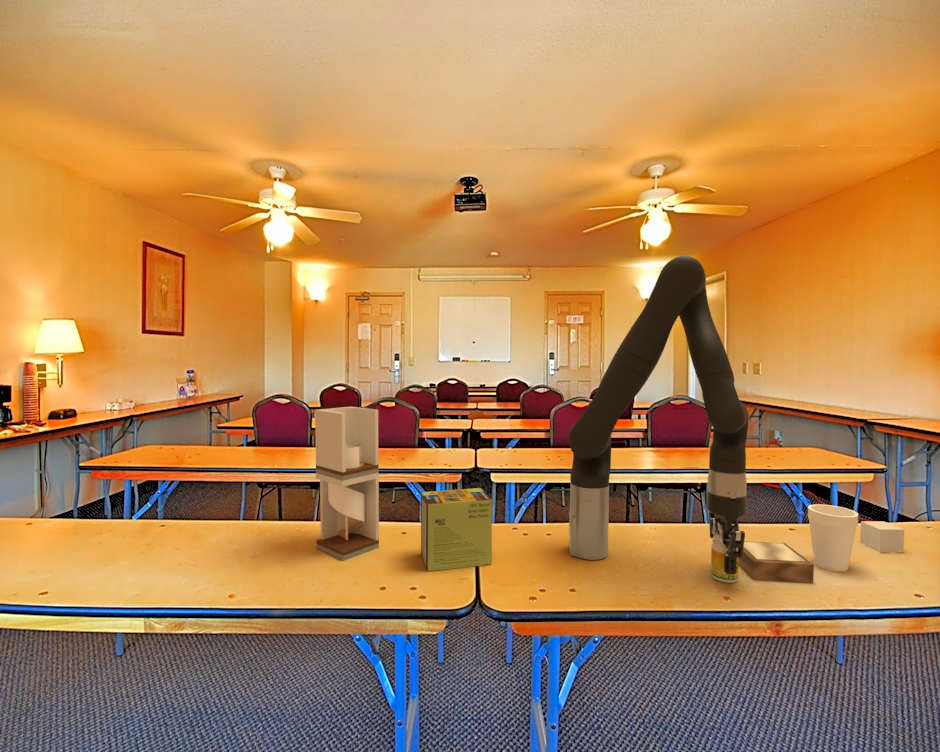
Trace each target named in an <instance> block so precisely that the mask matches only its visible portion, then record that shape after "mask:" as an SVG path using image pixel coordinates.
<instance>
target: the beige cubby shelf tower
mask: <svg viewBox="0 0 940 752" xmlns="http://www.w3.org/2000/svg"><path fill="white" fill-rule="evenodd" d="M314 413H315V414H314V416H315V417H314V420H315V425H314V427H315V431H314V432H315V433H314V434H315V479H316V480H319V494H320V497H319V502H320V503H319V504H320V505H319V506H320V508H319V509H320V516H319V517H320V538H319V539H317V540H316V549H318V550H320V551H322V552H324V553H326V554H328V555H330V556H332V557H335V558H336V559H339V560H341V561H343V562H344V561H347V560H349V559H352V558H354V557H357V556H360V555H363V554H365V553H368V552H371V551H373V550H376V549H380V515H379V514H380V508H379V506H380V505H379V503H380V501H379V500H380V499H379V498H380V493H379V490H380V489H379V486H380V485H379V483H380V482H379V477H380V476H379V474H380V472H379V409H373V408H367V407H357V406H343V407H342V406H341V407H334V408H333V407H331V408H320V409H315V410H314Z"/></svg>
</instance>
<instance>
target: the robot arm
mask: <svg viewBox="0 0 940 752" xmlns="http://www.w3.org/2000/svg"><path fill="white" fill-rule="evenodd" d="M658 275H659V276H658V277H657V280H656V282H655V284H654V287H653V289H652V291H651V293H650V295H649V297H648V298H647V299H648V300H647V302H646V304H645V306H644V307H643V309H642V311H641V312H640V314H639V316H638V317H637V318H636V320H635V321H634V323H633V324H632V325H631V327H630V329H629V330H628V332H627V334H626V335H625V337H624V339H623V340H622V342H621V343H620V344H619V347H617V350H616V352H615V354H614V355H613V357H612V359H611V360H610V363H609V365H608V367H607V369H606V371H605V372H604V375H603V377H602V378H601V381H600V383H599V385H598V388H597V389H596V392H595V394H594V396H593V398H592V400H590V403H589V404H588V406H587V407H586V409H584V412H583V413H582V414H581V416H580V417H579V419H578V420H577V421H576V422H575V423H574V425H573V426H572V427H571V428H570V431H569V433H568V445H569V448H570V450H571V452H572V453H573V455H572V456H573V458H572V459H573V460H572V464H571V465H572V467H571V470H570V475H569V476H570V482H569V483H570V486H569V487H570V488H569V489H570V491H569V493H570V494H569V495H570V497H569V498H570V499H569V501H570V502H569V506H570V507H569V511H568V512H569V513H568V515H569V516H568V517H569V518H568V519H569V520H568V521H569V522H568V548H569V549H568V550H569V555H570V557H576V558H580V559H582V558H583V560H590V561H591V560H592V561H595V560H596V561H597V560H598V561H599V560H603V559H605V558H607V557H608V555H609V523H610V522H609V514H610V513H609V510H610V509H609V507H610V505H609V504H610V503H609V502H610V477H611V468H612V467H611V465H612V464H611V463H612V434H613V431H614V429H615V427H616V424H617V423H618V421H619V419H620V417H621V415H623V412H624V411H625V410H626V409H627V407H628V406H629V405H630V403H632V401H633V400H634V399H635V397H636V396H637V395H638V394H639V392H640V391H641V390H642V388H643V387H644V386H645V384H646V383H647V381H648V379H649V378H650V376H651V375H652V373H653V372H654V370H655V368H656V366H657V365H658V363H659V361H660V359H661V356H662V355H663V352H664V350H665V348H666V346H667V342H668V340H669V337H670V334H671V331H672V329H673V326H674V324H675V323H676V321H677V319H678V318H679V319H680V322H681V324H682V327H683V331H684V334H685V338H686V342H687V347H688V351H689V356H690V359H691V363H692V366H693V369H694V372H695V374H696V378H697V381H698V384H699V386H700V388H701V394H702V400H703V404H704V408H705V409H704V410H705V413H706V416H707V419H708V422H709V423H710V426H711V427H712V428H713V429H712V430H713V431H712V443H711V445H710V447H709V448H710V449H709V461H708V465H709V466H708V467H709V468H708V475H707V490H706V491H707V492H706V496H707V497H706V508H707V510H708V520H709V521H708V523H709V537H710V539H712V543H713V542H715V541H716V540H715V533H717V532H718V533H719V534H720V540H721V544H722V545H723V546H724V554H725V555H724V571H725V573H727V574H736V564H737V557H739V558H742V555H743V547H744V541H745V537H746V536H745V535H746V533H745V531H743V530H740V526H739V523H738V519H739V518H740V517H743V516H745V515H746V514H747V487H748V486H747V476H746V475H747V474H746V473H747V472H746V467H747V466H746V465H747V462H746V460H747V455H746V453H747V452H746V444H747V438H748V430H749V410H748V408H747V406H746V405H745V404H744V402H742V401H741V400H740V398H739V395H738V393H737V390H736V387H735V376H734V372H733V370H732V369H733V368H732V365H731V363H730V360H729V358H728V357H729V356H728V353H727V351H726V348H725V346H724V343H723V341H722V339H721V336H720V334H719V332H718V330H717V327H716V325H715V323H714V320H713V319H714V318H713V317H712V314H711V310H710V307H709V302H708V295H707V293H708V292H707V286H706V282H707V276H706V272H705V269H704V266H703V265H702V263H701V262H700V261H699V260H698V259H697V258H695V257H693V256H691V255H679V256H677V257H674V258H672V259H670V260H669V261H668V262H666V263H665V265H664V266H663V267H662V269H661V270H660V272H659V274H658ZM725 539H729V541H726V540H725ZM728 545H729V547H728ZM733 548H734V551H733Z"/></svg>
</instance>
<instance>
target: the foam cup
mask: <svg viewBox="0 0 940 752" xmlns="http://www.w3.org/2000/svg"><path fill="white" fill-rule="evenodd" d="M807 518H808V521H809V522H808V523H809V531H810V539H811V548H812V549H811V550H812V554H813V555H812V556H813V557H812V558H813V564H814V565H815V566H817V567H819V568H821V569H824V570H828V571H830V572H831V571H832V572H839V573H840V572H842V573H843V572H844V573H845V572H848V570H849V567H850V562H851V556H852V551H853V546H854V541H855V536H856V533H857V532H856V531H857V527H859V513H858V512H856V511H854V510H853V509H849V508H846V507H843V506H837V505H833V504H832V505H831V504H824V503H822V504H818V503H817V504H811V505H808V507H807Z"/></svg>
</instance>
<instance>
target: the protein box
mask: <svg viewBox="0 0 940 752" xmlns="http://www.w3.org/2000/svg"><path fill="white" fill-rule="evenodd" d="M492 515H493V499H492V498H491V497H490V496H489V495H488V494H487V493H486V492H485V491H484V490H483V489H482V488H481V487H475V488H461V489H445V490H436V491H433V490H432V491H423V492H421V493H420V523H421V525H420V535H421V537H420V538H421V540H420V547H421V548H420V553H421V557H422V560H423V563H424V565H425V568H426V571H427V572H433V571H441V570H442V571H444V570H453V569H461V568H462V569H463V568H471V567H472V568H473V567H479V566H480V567H481V566H482V565H483V566H486V565H485V564H491V563H492V564H493V561H492V559H493V557H492V555H493V547H492V546H493V543H492V542H493V536H492V534H493V529H492V528H493V527H492V526H493V525H492V522H493V516H492ZM492 564H491V565H492Z"/></svg>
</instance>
